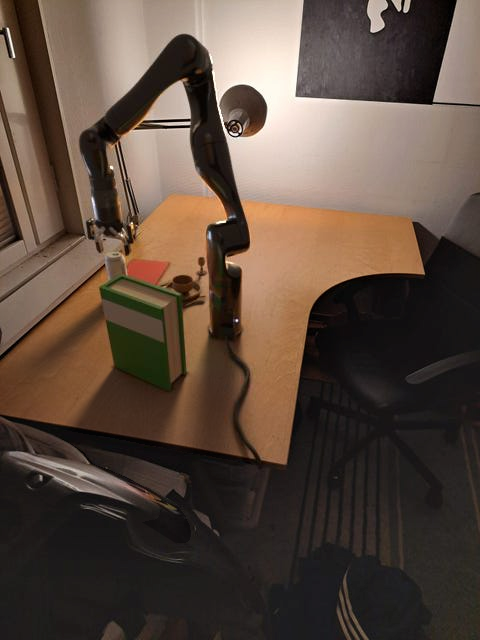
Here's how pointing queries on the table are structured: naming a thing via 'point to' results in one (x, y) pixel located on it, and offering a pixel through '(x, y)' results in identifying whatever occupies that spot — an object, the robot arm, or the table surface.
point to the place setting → (187, 284)
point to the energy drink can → (115, 264)
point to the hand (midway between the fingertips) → (114, 253)
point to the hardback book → (145, 329)
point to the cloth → (146, 270)
